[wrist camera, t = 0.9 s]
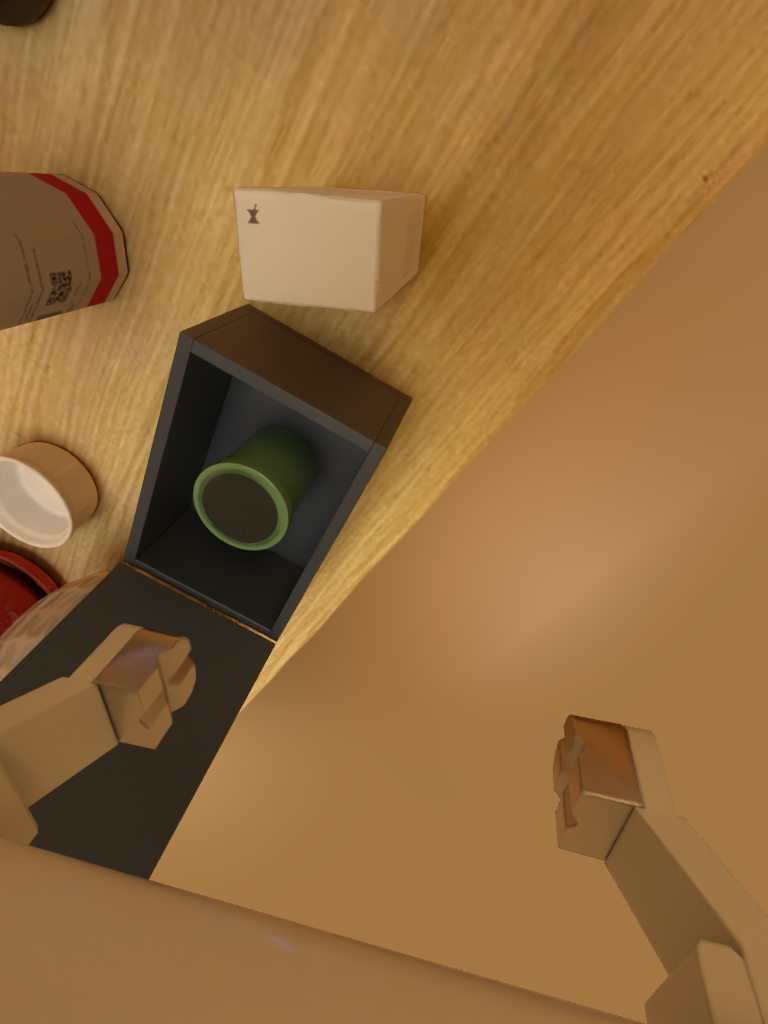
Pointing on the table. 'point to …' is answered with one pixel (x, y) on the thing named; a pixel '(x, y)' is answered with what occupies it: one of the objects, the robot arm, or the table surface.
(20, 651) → the vase
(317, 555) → the open dark gray box
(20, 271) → the spray bottle
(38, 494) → the ramekin
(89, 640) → the lid
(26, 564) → the flower pot
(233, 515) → the green pot
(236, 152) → the table surface
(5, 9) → the sandal
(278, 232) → the cosmetic box
